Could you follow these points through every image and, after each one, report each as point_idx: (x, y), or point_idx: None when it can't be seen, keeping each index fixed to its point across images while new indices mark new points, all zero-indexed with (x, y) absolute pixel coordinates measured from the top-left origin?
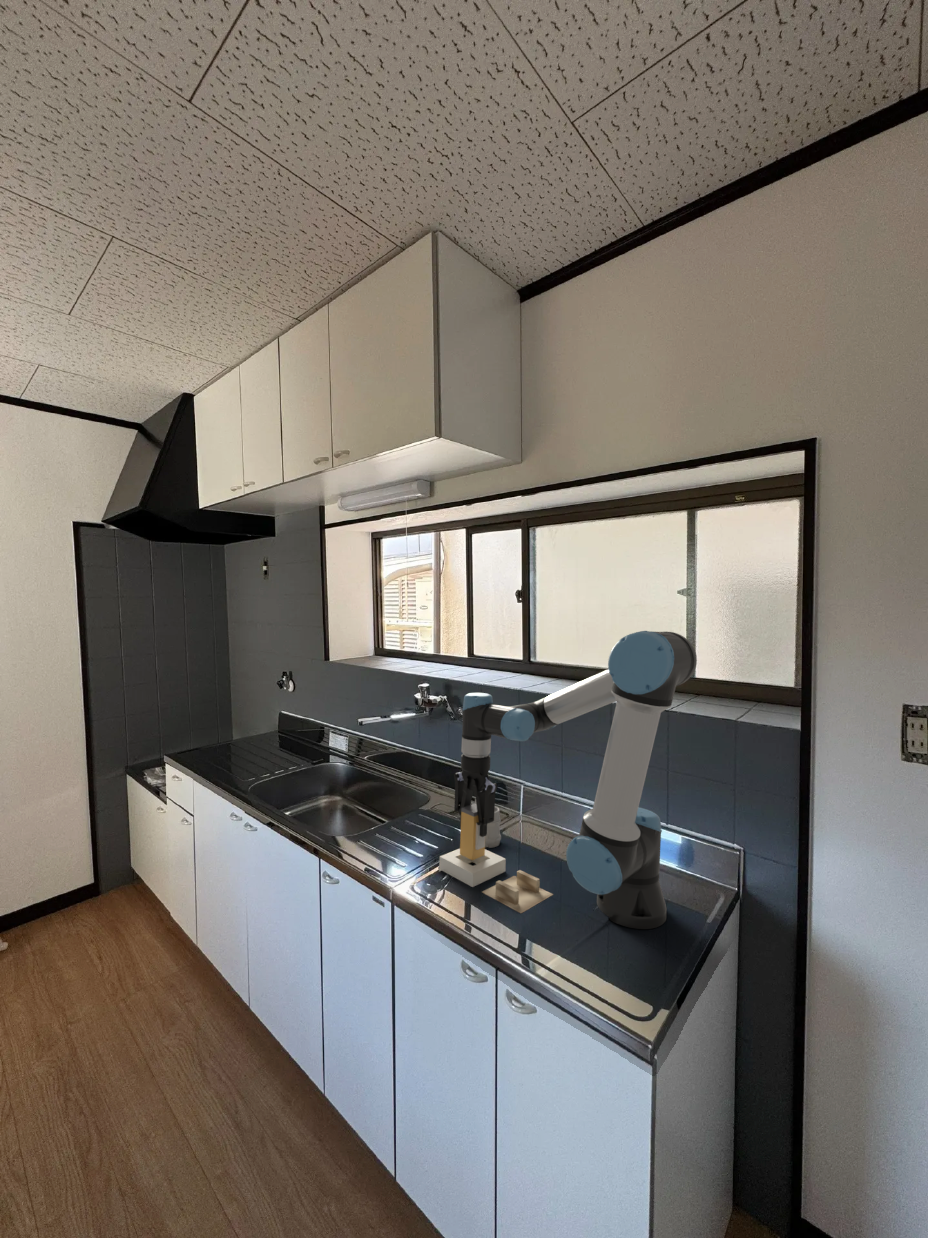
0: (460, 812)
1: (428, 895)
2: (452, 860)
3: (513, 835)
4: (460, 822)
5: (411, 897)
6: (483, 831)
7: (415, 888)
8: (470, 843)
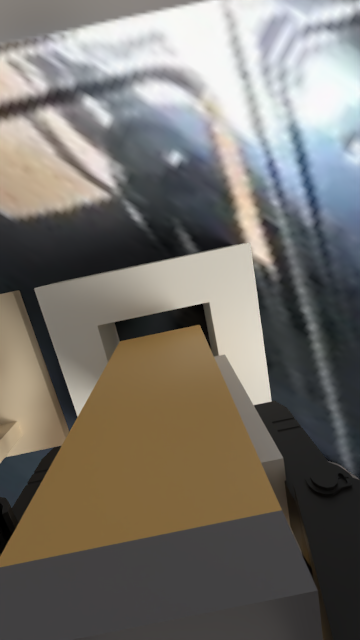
0: (338, 495)
1: (99, 110)
2: (185, 274)
3: None
4: (292, 423)
5: (115, 32)
6: (28, 486)
7: (171, 89)
8: (123, 368)
